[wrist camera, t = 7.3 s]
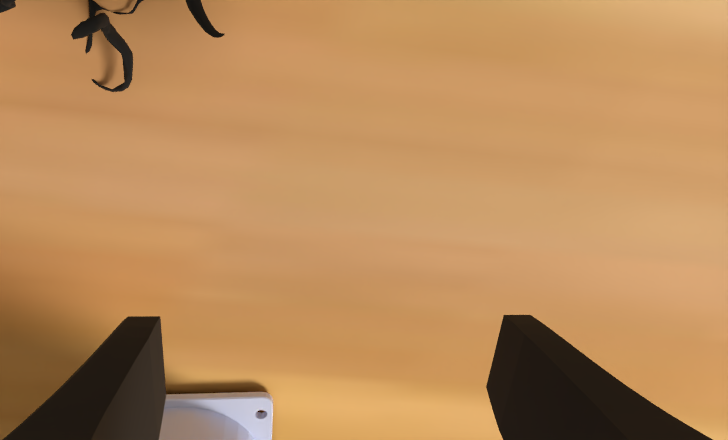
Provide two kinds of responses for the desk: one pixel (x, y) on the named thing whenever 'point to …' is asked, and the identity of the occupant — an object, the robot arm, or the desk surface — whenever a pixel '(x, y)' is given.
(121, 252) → the desk surface
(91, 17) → the creature
